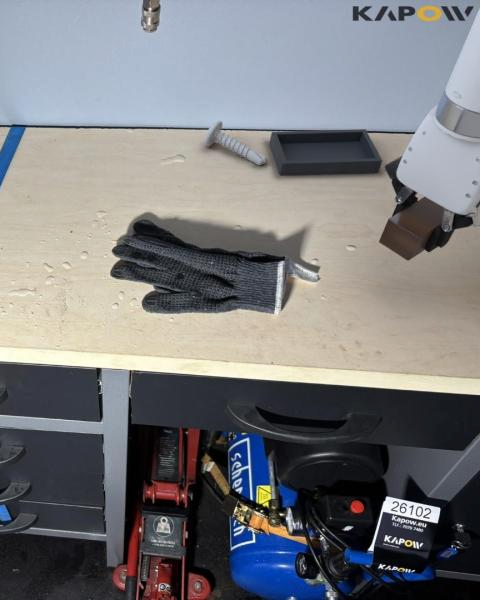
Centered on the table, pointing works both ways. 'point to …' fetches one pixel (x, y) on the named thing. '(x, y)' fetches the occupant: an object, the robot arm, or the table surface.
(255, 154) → the screw
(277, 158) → the tray
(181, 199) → the table surface
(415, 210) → the block
